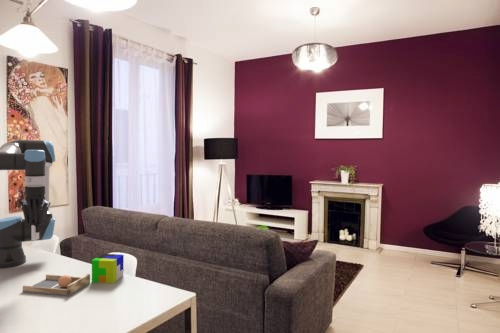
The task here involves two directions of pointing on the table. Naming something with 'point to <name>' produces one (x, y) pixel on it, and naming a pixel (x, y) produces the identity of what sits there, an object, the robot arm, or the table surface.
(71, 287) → the divided wooden tray
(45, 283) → the tray
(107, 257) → the puzzle toy
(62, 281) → the ball
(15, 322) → the table surface
